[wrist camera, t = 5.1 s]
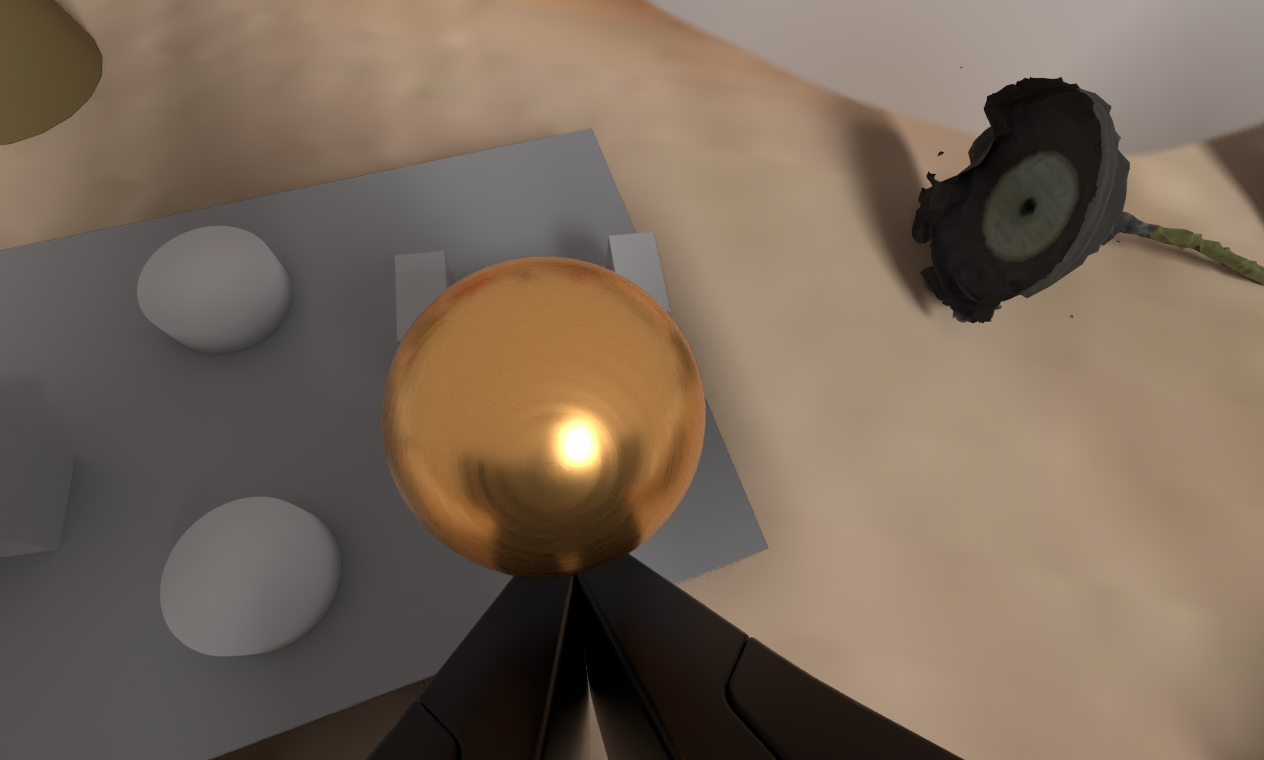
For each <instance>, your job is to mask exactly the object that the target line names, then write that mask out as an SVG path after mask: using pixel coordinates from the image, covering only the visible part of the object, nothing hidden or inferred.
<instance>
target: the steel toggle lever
mask: <svg viewBox="0 0 1264 760" xmlns="http://www.w3.org/2000/svg"><path fill="white" fill-rule="evenodd" d="M705 425H706V405H705V398H704V390H703V384H702V381H701V377H700V373H699V370H698V366H697V363H696V360H695V358H694V356H693V353H692V351H691V348H690V346H689V344H688V342H687V340H686V339H685V337H684V335H683V333H682V332H681V330H680V328H679V327H678V325H677V324H676V323H675V322H674V320H673V319H672V318H671V316H670V315H669V314H668V313H667V311H666V310H665V309H664V308H663V307H662V306H661V305H660V304H659V303H658V302H657V301H656V300H655V299H654V298H652V297H651V296H650V295H649V294H648V293H647V292H645V291H644V290H643V289H641V288H640V287H639V286H637V285H636V284H634V283H633V282H632V281H630V280H628V279H626V278H625V277H623V276H621V275H619V274H617V273H616V272H614V271H611V270H609V269H606V268H604V267H601V266H599V265H596V264H593V263H589V262H585V261H581V260H577V259H573V258H564V257H554V256H540V257H525V258H519V259H512V260H507V261H504V262H500V263H497V264H494V265H490V266H487V267H485V268H483V269H480V270H478V271H476V272H474V273H472V274H469V275H467V276H465V277H464V278H462V279H461V280H459V281H458V282H456V283H454V284H453V285H451V286H450V287H448V288H447V289H446V290H444V291H443V292H442V293H441V294H440V295H439V296H437V297H436V298H435V299H434V300H433V301H431V302H430V304H429V305H428V306H427V307H426V308H425V309H424V310H423V311H422V312H421V314H420V315H419V316H418V317H417V318H416V319H415V321H414V322H413V323H412V325H411V326H410V328H409V329H408V331H407V332H406V334H405V335H404V337H403V338H402V340H401V342H400V344H399V346H398V348H397V350H396V352H395V354H394V356H393V358H392V361H391V364H390V367H389V371H388V374H387V377H386V380H385V386H384V392H383V398H382V410H381V431H382V440H383V448H384V452H385V456H386V460H387V463H388V467H389V470H390V472H391V475H392V477H393V479H394V482H395V484H396V487H397V489H398V491H399V493H400V495H401V497H402V498H403V500H404V502H405V503H406V505H407V506H408V508H409V510H410V511H411V513H412V514H413V515H414V516H415V518H416V519H417V520H418V521H419V522H420V524H421V525H422V526H423V527H424V528H425V529H426V530H427V531H428V532H429V533H430V534H431V535H432V536H433V537H434V538H435V539H436V540H438V541H439V542H440V543H442V544H443V545H444V546H446V547H447V548H449V549H450V550H451V551H453V552H454V553H456V554H457V555H459V556H461V557H463V558H465V559H467V560H469V561H470V562H472V563H474V564H476V565H479V566H481V567H484V568H487V569H489V570H492V571H495V572H499V573H503V574H507V575H511V576H518V577H525V578H558V577H567V576H573V575H577V574H581V573H586V572H589V571H592V570H595V569H598V568H601V567H603V566H606V565H608V564H610V563H612V562H614V561H616V560H618V559H620V558H622V557H624V556H626V555H627V554H629V553H630V552H632V551H633V550H635V549H636V548H638V547H639V546H641V545H642V544H643V543H644V542H645V541H647V540H648V539H649V538H650V537H651V536H653V535H654V534H655V533H656V532H657V530H658V529H659V528H660V527H661V526H662V525H663V524H664V523H665V522H666V521H667V520H668V519H669V517H670V516H671V515H672V513H673V512H674V511H675V509H676V508H677V507H678V505H679V504H680V503H681V501H682V499H683V497H684V495H685V494H686V492H687V490H688V488H689V487H690V484H691V482H692V479H693V477H694V475H695V472H696V470H697V467H698V463H699V459H700V456H701V452H702V447H703V440H704V433H705Z"/></svg>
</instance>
